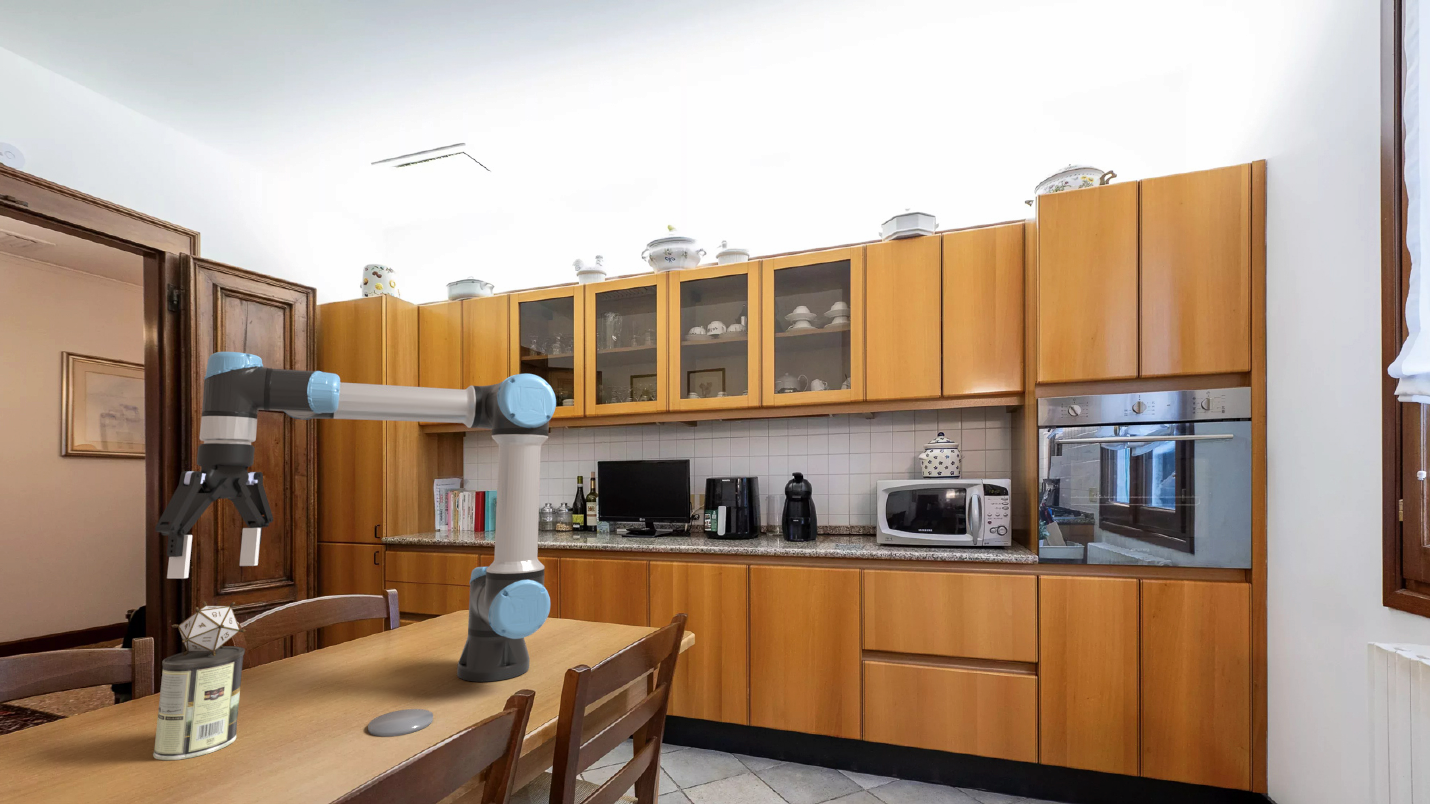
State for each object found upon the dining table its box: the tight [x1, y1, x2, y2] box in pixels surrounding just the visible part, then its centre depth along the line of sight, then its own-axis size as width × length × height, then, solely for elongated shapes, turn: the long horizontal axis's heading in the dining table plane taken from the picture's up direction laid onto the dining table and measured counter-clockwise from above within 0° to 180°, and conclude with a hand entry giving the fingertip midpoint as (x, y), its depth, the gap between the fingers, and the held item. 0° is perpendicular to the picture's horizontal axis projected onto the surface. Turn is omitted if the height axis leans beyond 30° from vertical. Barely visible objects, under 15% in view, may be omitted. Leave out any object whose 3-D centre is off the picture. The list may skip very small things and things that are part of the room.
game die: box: [171, 601, 247, 656], centre depth 100 cm, size 9×8×10 cm
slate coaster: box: [367, 708, 434, 737], centre depth 106 cm, size 10×10×1 cm
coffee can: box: [152, 645, 246, 761], centre depth 98 cm, size 10×10×14 cm
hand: (215, 571), depth 101 cm, fingers open, 13 cm apart
